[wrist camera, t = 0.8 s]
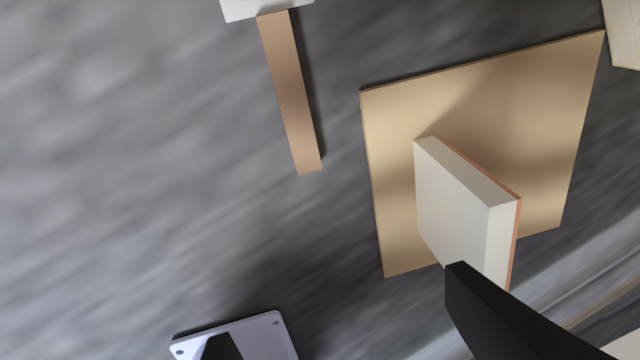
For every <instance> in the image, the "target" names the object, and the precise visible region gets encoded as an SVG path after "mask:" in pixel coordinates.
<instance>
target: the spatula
mask: <svg viewBox="0 0 640 360" xmlns="http://www.w3.org/2000/svg"><path fill="white" fill-rule="evenodd" d="M219 1H220V4H221V7H222V10H223V14H224V17H225V20H226V23H229V22H233V21H237V20H242V19H246V18H250V17H254V16H255V17H256V21H257V24H258V28H259V32H260V36H261V39H262V43H263V47H264V51H265V54H266V58H267V62H268V66H269V69H270V73H271V77H272V81H273V84H274V88H275V92H276V96H277V99H278V103H279V107H280V111H281V114H282V118H283V122H284V126H285V129H286V133H287V137H288V141H289V144H290V148H291V152H292V156H293V159H294V163H295V167H296V170H297V174H298V176H299V175H303V174H306V173H310V172H314V171H317V170H321V169H323V168H322V164H321V159H320V155H319V150H318V145H317V141H316V136H315V132H314V127H313V123H312V118H311V113H310V109H309V104H308V100H307V95H306V91H305V86H304V81H303V77H302V72H301V68H300V63H299V59H298V54H297V50H296V45H295V40H294V36H293V31H292V27H291V22H290V18H289V13H288V10H287V9H289V8H293V7H297V6H301V5H306V4H310V3H314V0H219Z"/></svg>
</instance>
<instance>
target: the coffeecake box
mask: <svg viewBox="0 0 640 360" xmlns="http://www.w3.org/2000/svg"><path fill="white" fill-rule="evenodd" d="M601 1H602V6H603V12H604V19H605V25H606V30H607V36H608V41H609V47H610V53H611V58H612V65H613V66H617V67H624V68H629V69H634V70H639V71H640V0H601Z"/></svg>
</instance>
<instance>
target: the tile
mask: <svg viewBox="0 0 640 360" xmlns="http://www.w3.org/2000/svg"><path fill="white" fill-rule="evenodd" d="M413 149H414V168H415V187H416V206H417V225H418V233H419V235H420V236H421V237H422V239H423V240H424V241H425V243H426V244H427V246H428V247H429V248H430V250H431V251H432V253H433V254H434V255H435V257H436V258H437V259H438V261H439V262H440V264H441V265H442V266H443V268H444V269H445V265H448V264H451V263H454V262H458V261H461V260H463V261H465V262H466V263H468V264H469V265H471V266H472V267H473V268H475V269H476V270H477V271H479V272H480V273H481V274H483V275H484V276H486V277H487V278H488V279H490V280H491V281H492V282H494V283H495V284H497V285H498V286H499V287H501V288H502V289H504V290H505V291H507V292H508V291H509V284H510V278H511V271H512V264H513V258H514V251H515V245H516V238H517V231H518V225H519V218H520V211H521V205H522V198H521V197H520V196H518V195H517V194H516V193H514V192H513V191H512V190H510V189H509V188H508V187H506V186H505V185H504V184H502V183H501V182H500V181H498V180H497V179H496V178H494V177H493V176H492V175H490V174H489V173H488V172H486V171H485V170H484V169H482V168H481V167H480V166H478V165H477V164H475V163H474V162H473V161H471V160H470V159H469V158H467V157H466V156H465V155H463V154H462V153H461V152H459V151H458V150H457V149H455V148H454V147H453V146H451V145H450V144H449V143H447V142H446V141H445V140H443V139H442V138H438V139H437V138H436V137H434V136H433V135H431V136H427V137H424V138H420V139H416V140H413Z"/></svg>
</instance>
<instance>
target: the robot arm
mask: <svg viewBox="0 0 640 360" xmlns="http://www.w3.org/2000/svg"><path fill="white" fill-rule="evenodd" d="M445 307H446V309H447V311H448V313H449V314H450V316H451V318H452V320H453V322H454V324H455V326H456V328H457V330H458V331H459V333H460V335H461V337H462V338H463V340H464V341H465V343H466V344H467V346H468V347H469V349H470V350H471V352H472V353H473V355H474V356H475V358H476V359H477V360H618V359H616V358H614V357H612V356H610V355H609V354H607V353H605V352H603V351H601V350H600V349H598V348H596V347H594V346H592V345H591V344H589V343H587V342H585V341H584V340H582V339H580V338H578V337H577V336H575V335H573V334H572V333H570V332H568V331H567V330H565V329H563V328H562V327H560V326H558V325H557V324H555V323H554V322H552V321H550V320H549V319H547V318H546V317H544V316H542V315H541V314H539V313H538V312H536V311H535V310H533V309H532V308H530V307H529V306H527V305H526V304H524V303H523V302H521V301H520V300H518V299H517V298H515V297H514V296H512V295H511V294H509V293H508V292H507V291H505V290H504V289H502V288H501V287H499V286H498V285H497V284H495V283H494V282H492V281H491V280H490V279H488V278H487V277H486V276H484V275H483V274H481V273H480V272H479V271H477V270H476V269H475V268H473V267H472V266H471V265H469V264H468V263H466V262H465V261H463V260H461V261H458V262H454V263H451V264H448V265H445ZM169 349H170V351H171V352H172V353H173V355H174V356H175V357H176V359H177V360H299V359H298V356H297V354H296V351H295V349H294V346H293V344H292V341H291V339H290V336H289V334H288V331H287V329H286V326H285V324H284V321H283V319H282V316H281V314H280V312H279V311H277V310H272V311H269V312H266V313H262V314H259V315H256V316H252V317H249V318H246V319H242V320H239V321H235V322H232V323H229V324H225V325H222V326H219V327H215V328H212V329H209V330H205V331H202V332H199V333H195V334H192V335H189V336H185V337H182V338H179V339H175V340H173V341H172V342H171V343H170V347H169Z"/></svg>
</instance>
